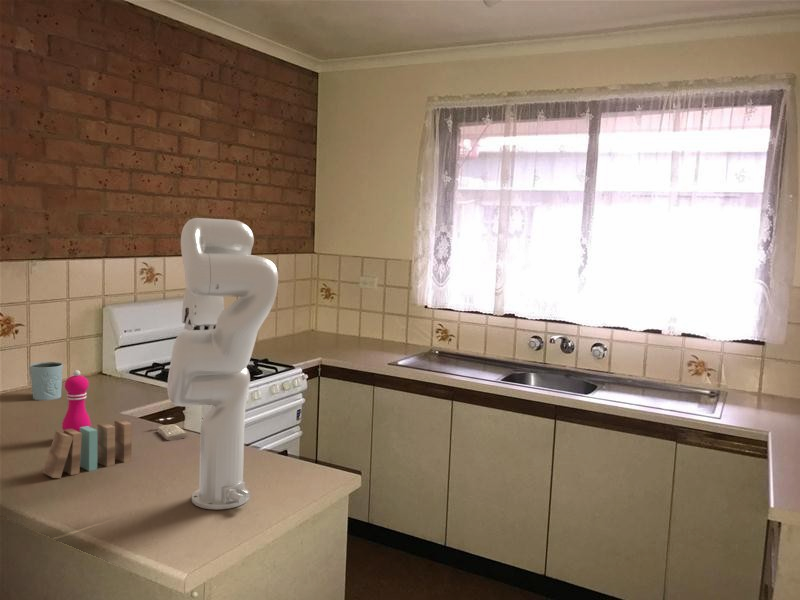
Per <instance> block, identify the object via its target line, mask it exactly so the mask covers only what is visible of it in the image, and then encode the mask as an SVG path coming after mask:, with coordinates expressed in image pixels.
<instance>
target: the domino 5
mask: <svg viewBox="0 0 800 600" xmlns="http://www.w3.org/2000/svg"><path fill="white" fill-rule="evenodd" d="M113 423H114V425H113V426H115V460H118V461H120V462H121V463H128V462H131V461H132V449H133V448H132V442H133V441H132V438H133V437H132V436H133V427H132V426H133V423H131V422H129V421H126V420H124V419H117V420H116V419H115V420H114V421H113Z"/></svg>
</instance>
